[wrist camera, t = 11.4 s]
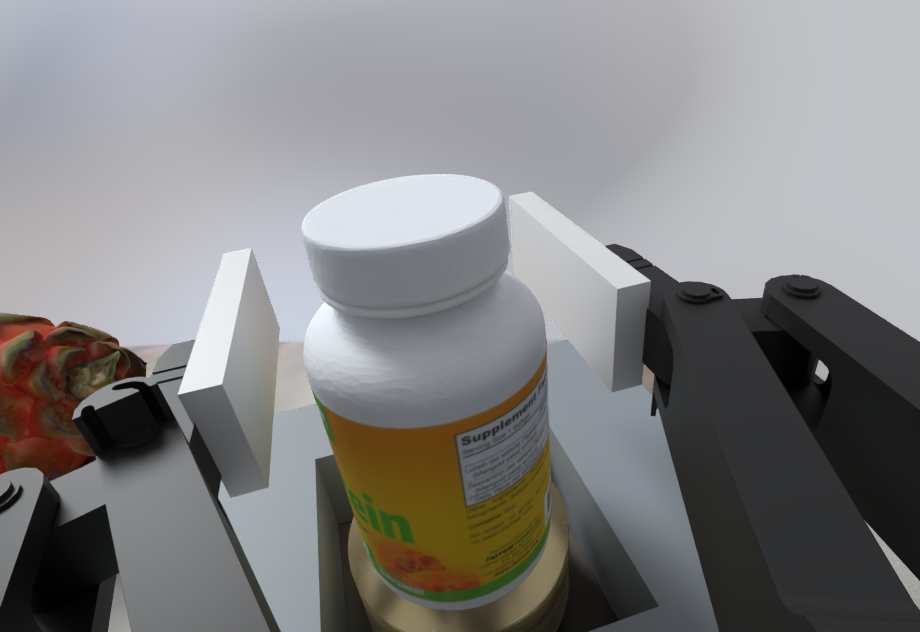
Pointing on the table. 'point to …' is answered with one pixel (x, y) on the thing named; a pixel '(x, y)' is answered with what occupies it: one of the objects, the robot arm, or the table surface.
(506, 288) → the supplement bottle
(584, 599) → the table surface
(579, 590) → the table surface
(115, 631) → the table surface
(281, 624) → the socket plate
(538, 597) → the plunger disc
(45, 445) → the dragon fruit
